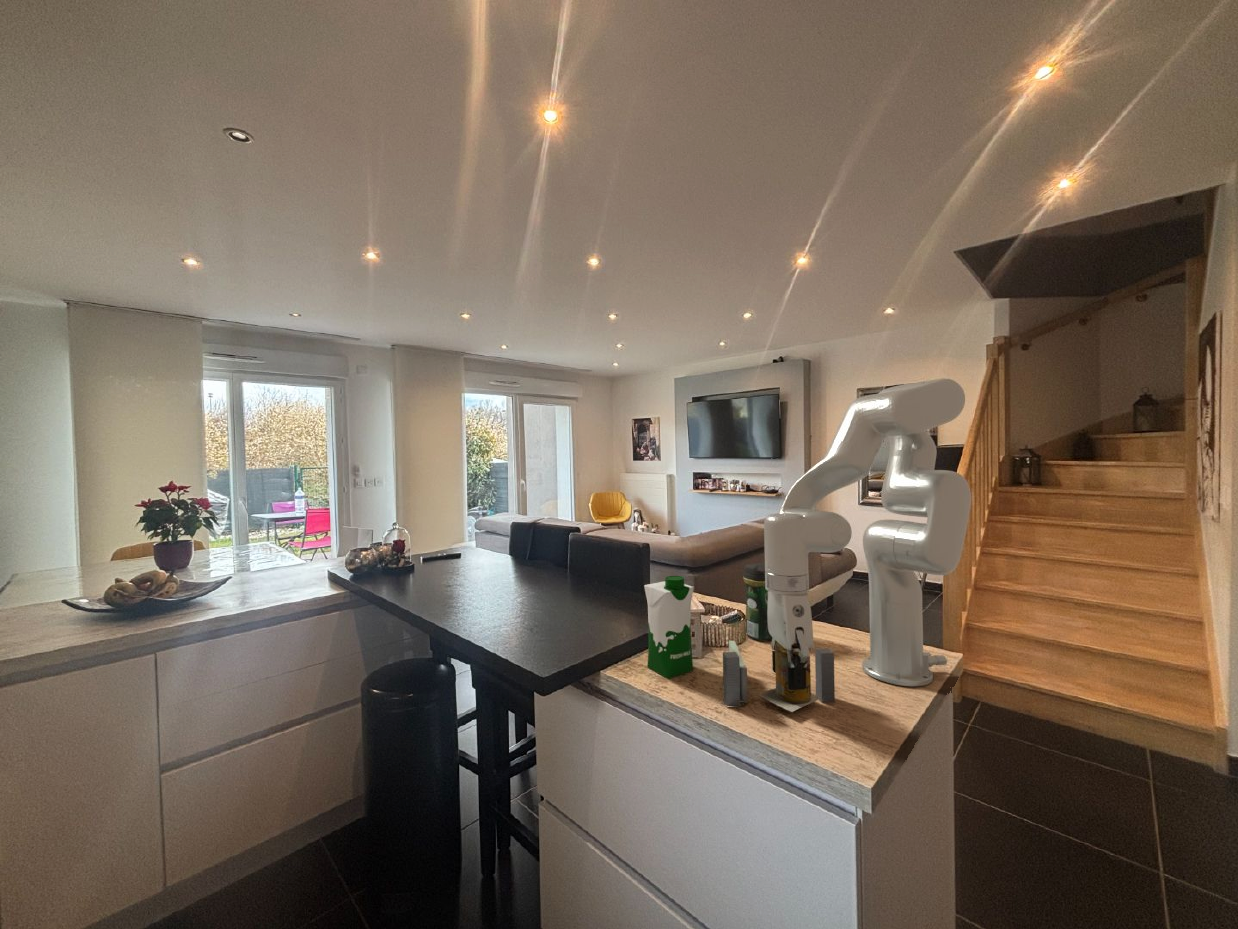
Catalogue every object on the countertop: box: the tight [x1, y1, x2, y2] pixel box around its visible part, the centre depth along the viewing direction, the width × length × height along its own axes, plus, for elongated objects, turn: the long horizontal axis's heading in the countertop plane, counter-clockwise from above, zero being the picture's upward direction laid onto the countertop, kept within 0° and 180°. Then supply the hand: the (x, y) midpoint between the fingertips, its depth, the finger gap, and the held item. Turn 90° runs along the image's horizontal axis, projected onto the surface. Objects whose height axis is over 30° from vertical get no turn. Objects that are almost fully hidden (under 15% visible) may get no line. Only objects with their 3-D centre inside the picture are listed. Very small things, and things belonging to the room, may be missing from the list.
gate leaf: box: [728, 640, 749, 703], centre depth 95 cm, size 2×14×6 cm, turn 175°
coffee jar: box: [742, 561, 772, 642], centre depth 122 cm, size 10×8×19 cm
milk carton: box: [643, 575, 695, 680], centre depth 104 cm, size 9×9×20 cm
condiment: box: [758, 642, 821, 713], centre depth 88 cm, size 7×8×12 cm
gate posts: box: [722, 647, 836, 707], centre depth 89 cm, size 20×2×9 cm, turn 93°
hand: (788, 679), depth 88 cm, fingers closed on condiment, 6 cm apart
